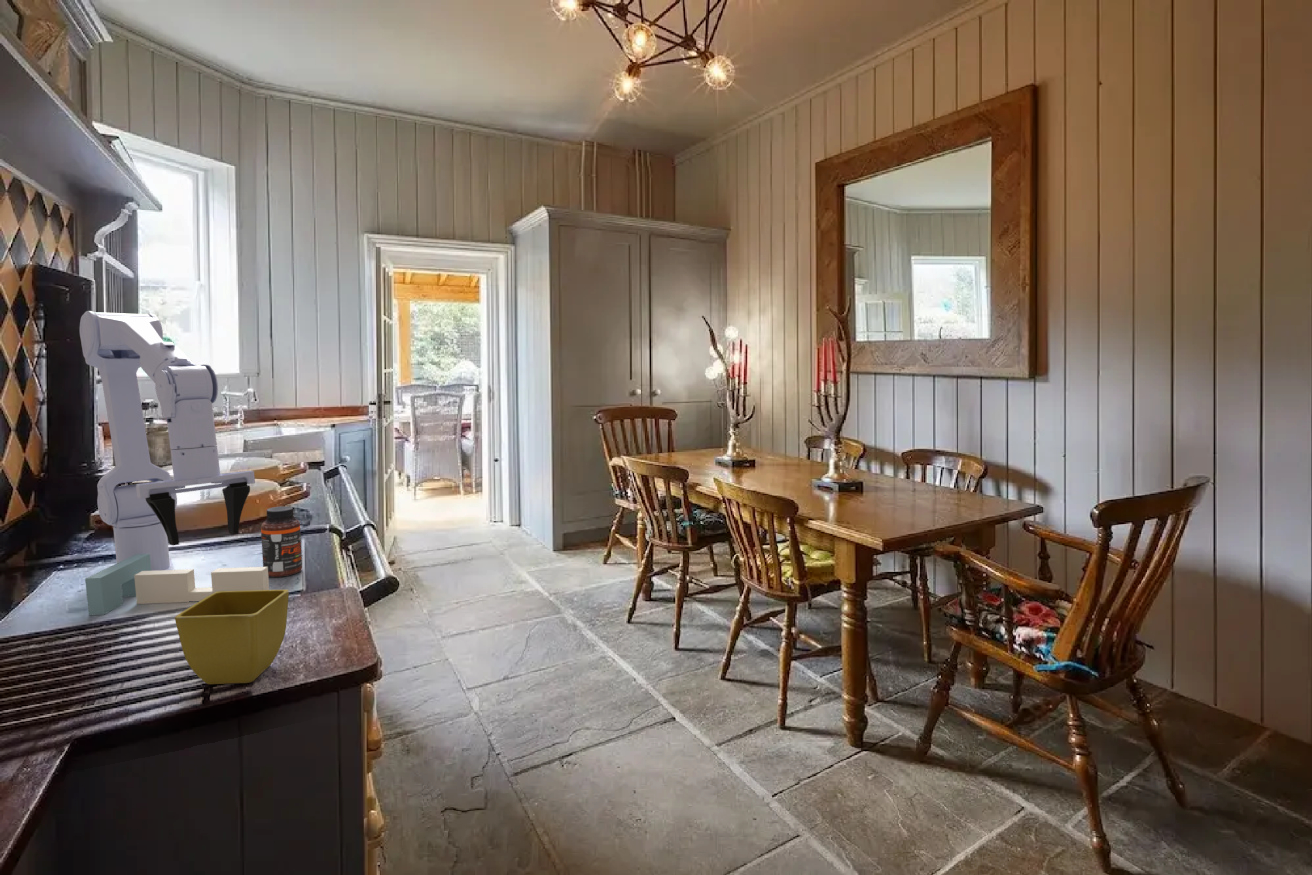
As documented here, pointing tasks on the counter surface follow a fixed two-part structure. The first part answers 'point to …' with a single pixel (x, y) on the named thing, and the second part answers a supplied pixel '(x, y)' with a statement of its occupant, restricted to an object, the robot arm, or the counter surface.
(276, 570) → the supplement bottle
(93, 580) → the teal notched block
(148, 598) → the cream rail
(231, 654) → the flower pot
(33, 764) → the counter surface
